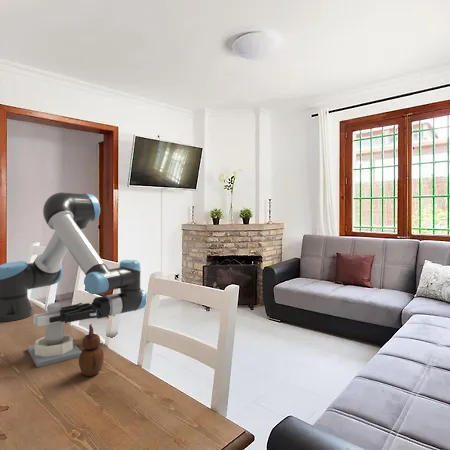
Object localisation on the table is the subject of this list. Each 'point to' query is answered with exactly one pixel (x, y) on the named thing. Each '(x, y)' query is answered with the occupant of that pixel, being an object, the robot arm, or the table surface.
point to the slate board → (44, 361)
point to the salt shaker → (54, 326)
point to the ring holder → (53, 347)
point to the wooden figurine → (91, 354)
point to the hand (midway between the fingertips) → (35, 320)
